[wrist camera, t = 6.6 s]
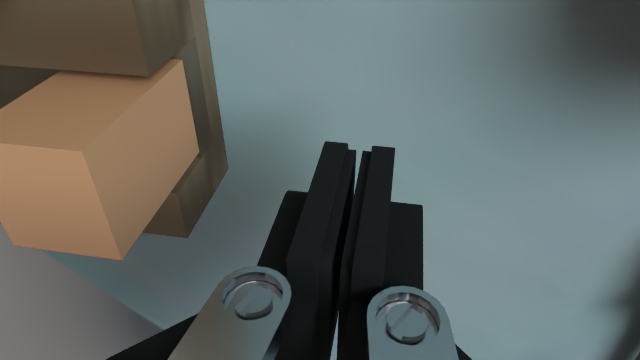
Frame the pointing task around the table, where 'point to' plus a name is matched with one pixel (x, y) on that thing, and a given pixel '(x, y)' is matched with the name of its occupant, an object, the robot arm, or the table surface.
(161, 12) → the brown wooden tray
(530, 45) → the table surface
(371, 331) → the robot arm
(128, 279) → the table surface
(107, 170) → the slider
